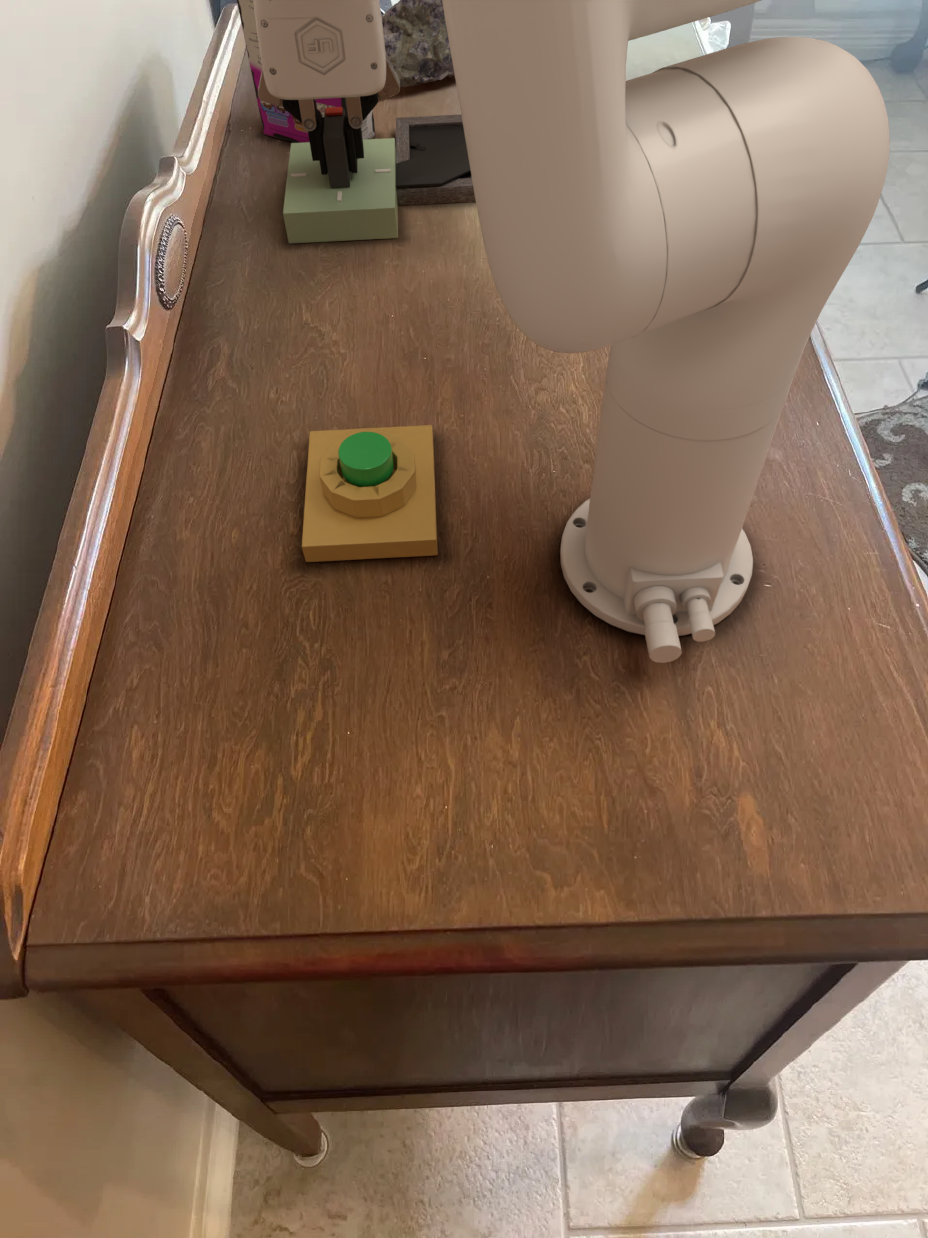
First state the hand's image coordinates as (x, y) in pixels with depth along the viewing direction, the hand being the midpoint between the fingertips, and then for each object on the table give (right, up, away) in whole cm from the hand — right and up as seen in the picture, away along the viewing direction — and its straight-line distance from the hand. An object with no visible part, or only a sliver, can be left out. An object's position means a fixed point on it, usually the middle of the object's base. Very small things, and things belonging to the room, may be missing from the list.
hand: (339, 164), depth 84 cm
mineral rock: (+7, +18, +18) cm, 26 cm away
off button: (+5, -31, -21) cm, 38 cm away
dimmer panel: (0, -2, +3) cm, 4 cm away
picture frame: (+14, +3, +7) cm, 16 cm away
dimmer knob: (0, -1, +1) cm, 1 cm away
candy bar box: (-3, +8, +11) cm, 14 cm away
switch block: (+5, -33, -19) cm, 38 cm away
